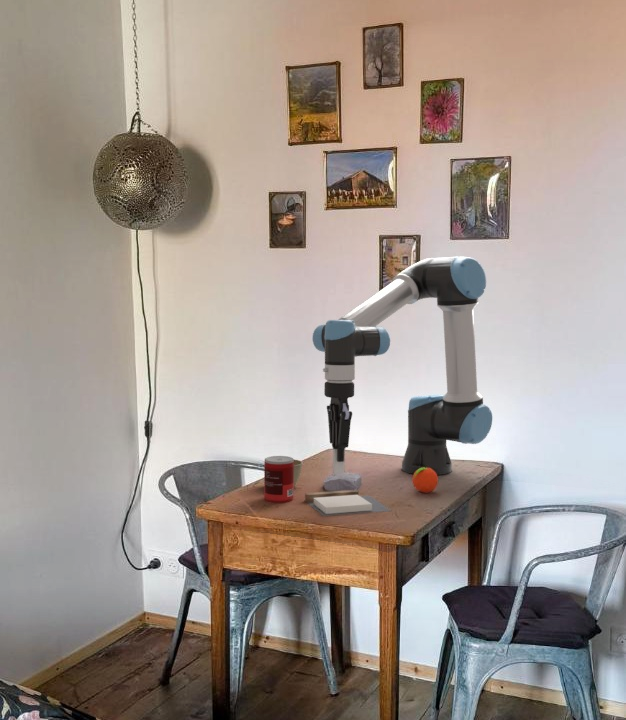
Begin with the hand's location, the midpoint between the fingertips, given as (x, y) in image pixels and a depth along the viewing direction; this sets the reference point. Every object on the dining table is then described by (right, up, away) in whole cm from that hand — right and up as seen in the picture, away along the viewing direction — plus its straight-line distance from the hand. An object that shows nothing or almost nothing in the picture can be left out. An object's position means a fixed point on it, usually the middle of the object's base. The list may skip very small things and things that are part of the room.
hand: (338, 473), depth 211 cm
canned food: (-15, -8, +6) cm, 19 cm away
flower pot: (-14, -7, +20) cm, 26 cm away
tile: (-1, -7, +3) cm, 7 cm away
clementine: (+24, -8, +15) cm, 29 cm away
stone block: (+2, -7, +21) cm, 22 cm away
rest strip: (-2, -8, +6) cm, 10 cm away
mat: (+2, -8, 0) cm, 9 cm away
